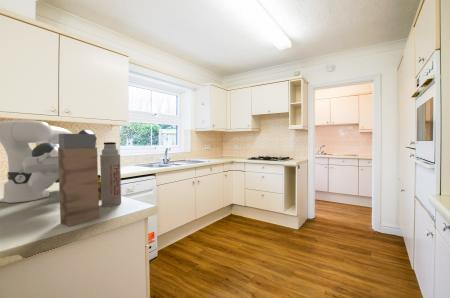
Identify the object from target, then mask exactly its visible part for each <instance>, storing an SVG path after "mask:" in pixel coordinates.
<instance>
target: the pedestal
mask: <svg viewBox="0 0 450 298" xmlns="http://www.w3.org/2000/svg"><path fill="white" fill-rule="evenodd" d="M97 152H98V147H96V148H70V149H59V148H58V164H59V182H58V185H59V186H58V188H59V189H58V190H59V216H60V217H59V218H60V224H62V225H64V226H66V227H72V226H76V225H79V224H82V223H85V222H89V221H93V220H97V219H99V218H100V208H99V207H100V203H99V198H98V175H99V172H98V171H99V170H98V169H99V167H98V166H99V165H98V158H97Z"/></svg>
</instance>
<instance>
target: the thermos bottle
mask: <svg viewBox="0 0 450 298" xmlns="http://www.w3.org/2000/svg"><path fill="white" fill-rule="evenodd" d="M116 144H117V142H115V141H114V142H113V141H110V142H109V141H106V142H103V148H102V149H101V154H100V155H99V158H100V159H99V162H100V163H99V164H100V176H101V206H103V207H113V206H117V205H120V204H121V203H122V184H121V183H122V178H121V174H122V173H121V154H119V149H118V148H117V145H116Z"/></svg>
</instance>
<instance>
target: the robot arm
mask: <svg viewBox="0 0 450 298" xmlns="http://www.w3.org/2000/svg"><path fill="white" fill-rule="evenodd" d="M59 134H74V133H73V132H72V131H70V130H69V129H67V128H63V127H60V126H55V125H51V124H49V123H47V122H45V121H40V120H33V119H32V120H31V119H29V120H28V119H27V120H24V119H23V120H22V119H21V120H4V121H0V144H1V145H2V147H3V148H4V150H5V153H6V156H7V157H6V158H7V164H8V171H7V175H6V177H7V181H6V182H5V183H3V198H0V202H1V203H2V202H3V203H11V204H12V203H23V202H24V203H26V202H31V201H36V200H40V199H45V198H49V197H50V190H49V188H51V186H53V185H54V184H55V183H56V184H57V183H58V184H59V164H58V148H59ZM77 134H95V133H94V132H93V131H91V130H89V129H88V130H87V129H82V130H80V131H79V132H78V133H77ZM97 139H98V138H97V135H96V134H95V143H96V144H97ZM29 144H38V145H36V146H34V147H33V149H32V148H31V147H30V145H29ZM98 157H99V153H98V151H97V159H98Z"/></svg>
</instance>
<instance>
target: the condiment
mask: <svg viewBox="0 0 450 298" xmlns="http://www.w3.org/2000/svg"><path fill="white" fill-rule="evenodd" d="M98 198H99V200H101V174H98Z"/></svg>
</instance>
